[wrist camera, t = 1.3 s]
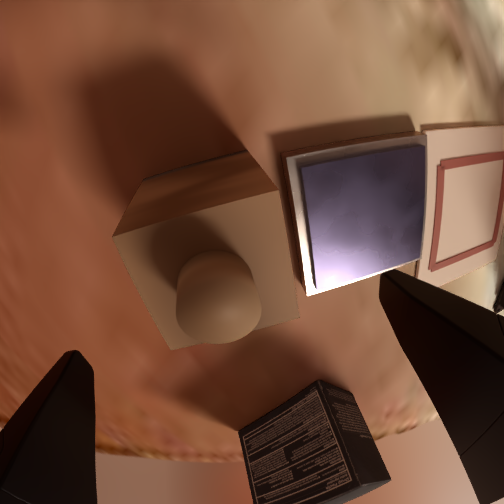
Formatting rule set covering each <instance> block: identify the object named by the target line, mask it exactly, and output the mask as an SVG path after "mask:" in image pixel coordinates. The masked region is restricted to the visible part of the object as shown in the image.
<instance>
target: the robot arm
mask: <svg viewBox="0 0 504 504" xmlns="http://www.w3.org/2000/svg"><path fill="white" fill-rule="evenodd" d="M379 299H380V303H381V305H382V307H383V309H384V311H385V313H386V315H387V317H388V320H389V322H390V324H391V326H392V328H393V330H394V333H395V335H396V337H397V339H398V341H399V343H400V345H401V347H402V349H403V351H404V353H405V354H406V356H407V358H408V359H409V361H410V363H411V365H412V366H413V368H414V370H415V372H416V373H417V375H418V377H419V379H420V381H421V382H422V384H423V386H424V388H425V390H426V391H427V393H428V395H429V397H430V399H431V401H432V403H433V405H434V406H435V408H436V410H437V412H438V414H439V416H440V418H441V420H442V422H443V424H444V426H445V428H446V430H447V432H448V434H449V436H450V438H451V440H452V442H453V444H454V446H455V448H456V450H457V452H458V455H459V456H460V459H461V461H462V463H463V466H464V468H465V470H466V473H467V475H468V477H469V479H470V482H471V484H472V486H473V489H474V491H475V494H476V496H477V499H478V501H479V503H480V504H490V503H493V502H495V501H497V500H499V499H501V498H503V497H504V316H501V315H499V314H497V313H498V312H500V311H502V310H503V309H504V283H503V286H502V289H501V292H500V294H499V297H498V300H497V303H496V305H495V308H494V312H493V311H490V310H488V309H486V308H484V307H482V306H479V305H477V304H475V303H473V302H471V301H468V300H466V299H464V298H462V297H459V296H457V295H455V294H452V293H450V292H448V291H446V290H443V289H441V288H439V287H436V286H434V285H432V284H429V283H427V282H425V281H422V280H420V279H418V278H415V277H413V276H410V275H408V274H406V273H403V272H401V271H398V270H396V269H391V270H388V271H385V272H383V273H382V274H381V276H380V287H379ZM496 314H497V315H496ZM95 417H96V416H95V394H94V371H93V368H92V366H91V365H90V364H89V363H88V361H87V360H86V359H85V358H84V356H83V355H82V354H81V353H80V352H79V351H78V350H72V351H67V352H65V353H64V354H63V356H62V357H61V358H60V359H59V360H58V361H57V362H56V364H55V365H54V366H53V367H52V368H51V369H50V371H49V372H48V373H47V374H46V375H45V376H44V378H43V379H42V380H41V381H40V382H39V384H38V385H37V386H36V387H35V388H34V390H33V391H32V392H31V393H30V395H29V396H28V397H27V398H26V399H25V401H24V402H23V403H22V404H21V406H20V407H19V408H18V410H17V411H16V412H15V413H14V415H13V416H12V417H11V418H10V420H9V421H8V422H7V424H6V425H5V426H4V429H2V430H1V432H0V504H97V491H96V472H95V470H96V469H95Z"/></svg>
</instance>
